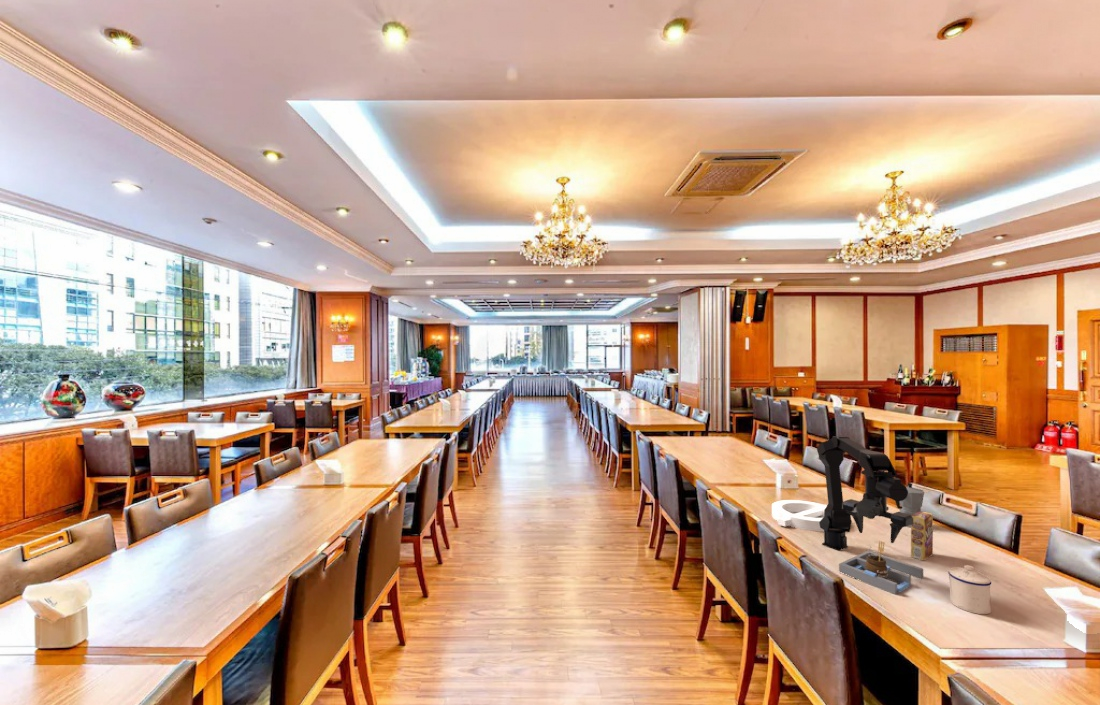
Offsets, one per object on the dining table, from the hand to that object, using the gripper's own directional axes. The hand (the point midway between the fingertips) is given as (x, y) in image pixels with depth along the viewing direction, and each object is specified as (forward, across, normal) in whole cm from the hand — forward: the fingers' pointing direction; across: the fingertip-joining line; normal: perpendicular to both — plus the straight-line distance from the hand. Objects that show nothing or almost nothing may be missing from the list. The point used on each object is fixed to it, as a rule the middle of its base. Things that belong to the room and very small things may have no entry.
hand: (876, 537), depth 146 cm
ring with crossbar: (+14, -41, +30) cm, 53 cm away
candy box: (+13, +1, +30) cm, 33 cm away
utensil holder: (+13, +1, -3) cm, 13 cm away
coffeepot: (+14, -15, +62) cm, 66 cm away
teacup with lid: (+13, +22, +4) cm, 25 cm away
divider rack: (+13, +2, +1) cm, 13 cm away
